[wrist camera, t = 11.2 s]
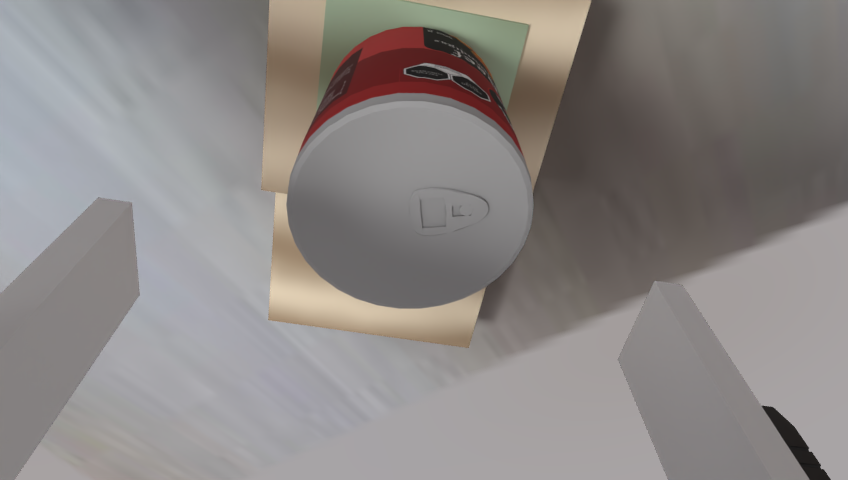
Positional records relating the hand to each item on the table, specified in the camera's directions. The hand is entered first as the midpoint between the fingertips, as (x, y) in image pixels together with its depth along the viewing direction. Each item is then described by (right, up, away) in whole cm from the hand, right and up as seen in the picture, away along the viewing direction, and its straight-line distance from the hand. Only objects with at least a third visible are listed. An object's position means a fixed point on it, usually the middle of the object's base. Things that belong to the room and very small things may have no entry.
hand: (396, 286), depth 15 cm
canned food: (0, +8, +13) cm, 15 cm away
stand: (-1, +7, +23) cm, 24 cm away
